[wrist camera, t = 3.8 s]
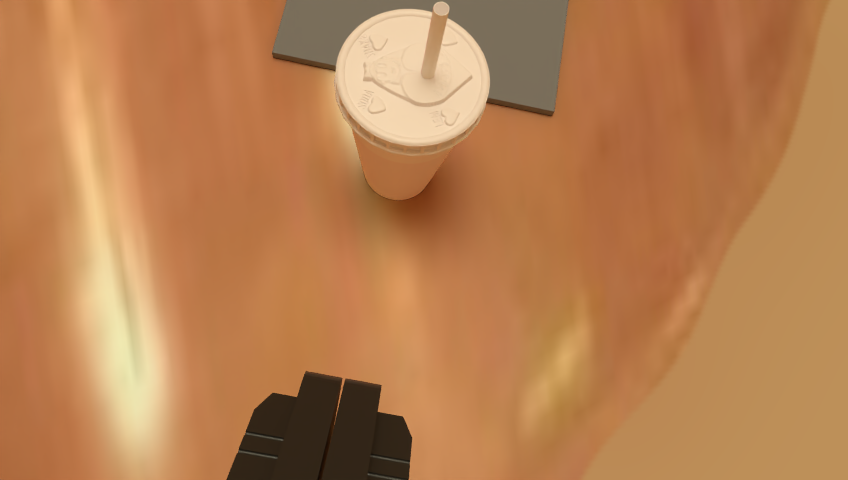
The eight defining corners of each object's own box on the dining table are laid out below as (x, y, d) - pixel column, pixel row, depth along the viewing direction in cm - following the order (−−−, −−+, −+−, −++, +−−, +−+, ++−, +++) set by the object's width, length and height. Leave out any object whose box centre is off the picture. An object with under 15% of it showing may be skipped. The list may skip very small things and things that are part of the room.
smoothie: (457, 226, 36) (521, 95, 22) (335, 222, 35) (327, 86, 22) (454, 116, 38) (512, -63, 24) (339, 112, 37) (333, -77, 24)
